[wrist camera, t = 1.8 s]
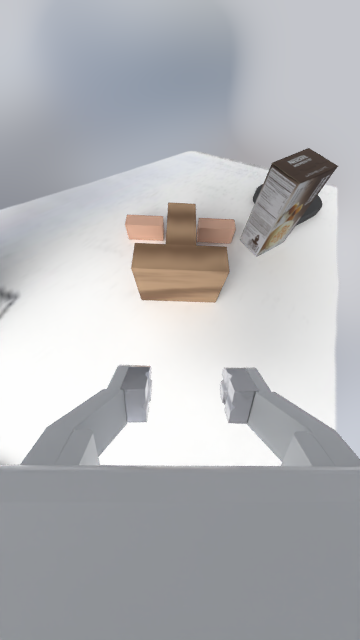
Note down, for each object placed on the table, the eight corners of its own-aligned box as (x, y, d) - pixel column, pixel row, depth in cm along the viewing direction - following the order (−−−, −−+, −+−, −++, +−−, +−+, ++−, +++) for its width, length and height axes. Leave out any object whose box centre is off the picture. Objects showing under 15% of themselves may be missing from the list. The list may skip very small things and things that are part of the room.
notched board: (230, 243, 43) (235, 229, 40) (129, 239, 43) (125, 224, 39) (229, 234, 45) (234, 219, 41) (130, 229, 44) (126, 214, 40)
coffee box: (265, 225, 46) (310, 145, 31) (284, 242, 44) (340, 165, 29) (238, 240, 44) (271, 161, 29) (256, 258, 42) (301, 183, 27)
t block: (215, 302, 37) (229, 271, 28) (141, 300, 37) (131, 268, 28) (211, 246, 43) (222, 205, 34) (147, 243, 42) (141, 201, 33)
